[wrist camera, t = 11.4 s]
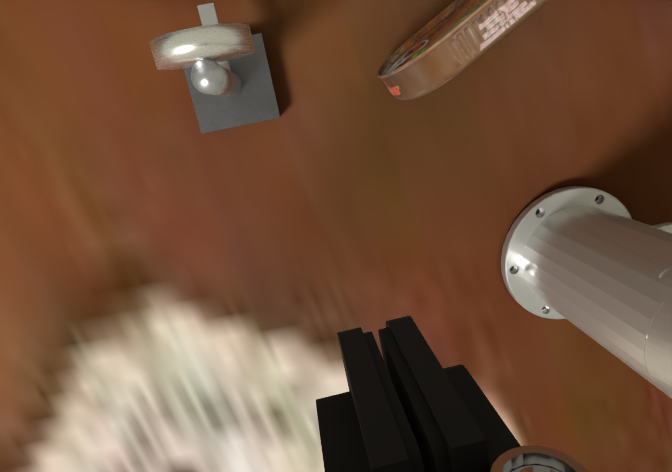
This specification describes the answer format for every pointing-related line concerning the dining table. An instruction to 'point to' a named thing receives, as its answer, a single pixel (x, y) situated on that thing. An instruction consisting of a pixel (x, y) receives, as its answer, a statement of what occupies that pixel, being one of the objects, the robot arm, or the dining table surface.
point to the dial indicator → (220, 71)
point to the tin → (451, 44)
